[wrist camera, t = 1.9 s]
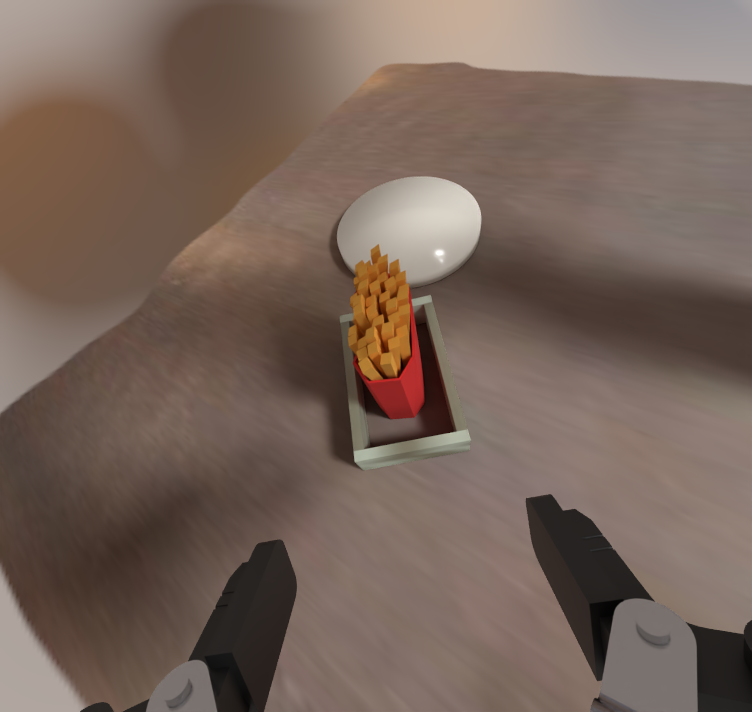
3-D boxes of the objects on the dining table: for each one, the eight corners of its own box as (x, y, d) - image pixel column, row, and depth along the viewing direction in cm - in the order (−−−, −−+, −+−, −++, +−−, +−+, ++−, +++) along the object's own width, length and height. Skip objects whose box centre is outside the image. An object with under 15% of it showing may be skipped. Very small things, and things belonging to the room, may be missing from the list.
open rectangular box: (432, 314, 35) (430, 294, 33) (469, 450, 28) (470, 440, 26) (347, 333, 36) (339, 315, 33) (363, 470, 29) (354, 462, 27)
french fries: (377, 343, 35) (340, 243, 24) (421, 338, 34) (404, 233, 23) (378, 436, 30) (334, 366, 19) (429, 433, 30) (414, 358, 18)
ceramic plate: (459, 174, 44) (459, 162, 43) (499, 268, 36) (501, 257, 35) (335, 206, 46) (331, 196, 45) (347, 303, 38) (343, 294, 37)
